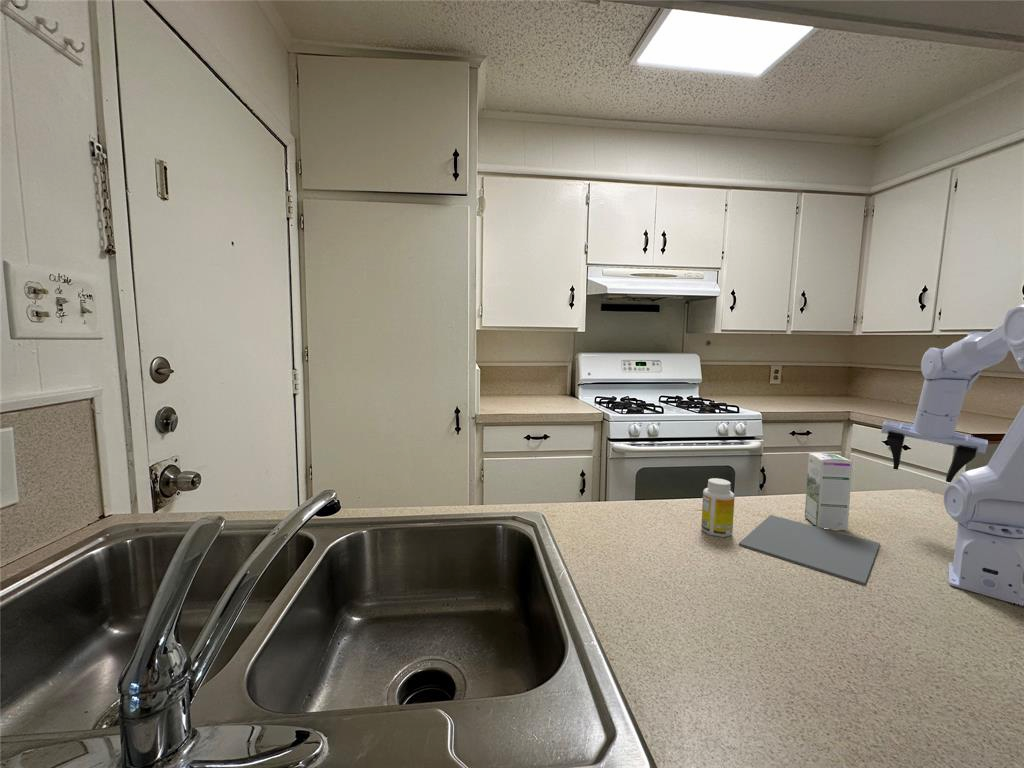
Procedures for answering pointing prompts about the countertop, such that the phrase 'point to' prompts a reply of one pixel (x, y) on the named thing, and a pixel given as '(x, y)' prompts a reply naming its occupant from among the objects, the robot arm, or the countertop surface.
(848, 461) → the syrup box
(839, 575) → the mat
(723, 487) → the supplement bottle
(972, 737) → the countertop surface
